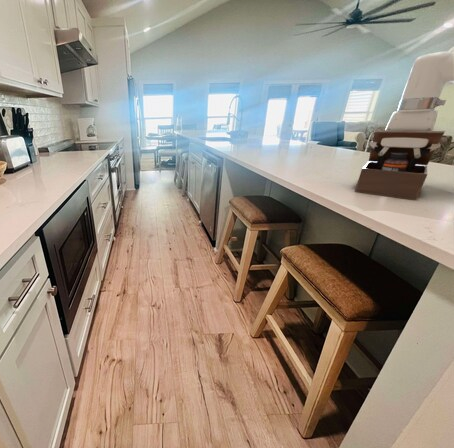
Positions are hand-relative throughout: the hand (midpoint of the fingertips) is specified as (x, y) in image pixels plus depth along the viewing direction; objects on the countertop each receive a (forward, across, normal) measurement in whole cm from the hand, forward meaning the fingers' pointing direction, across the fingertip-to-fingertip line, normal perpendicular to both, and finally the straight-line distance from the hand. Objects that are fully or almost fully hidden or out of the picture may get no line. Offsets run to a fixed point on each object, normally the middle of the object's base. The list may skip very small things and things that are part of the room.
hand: (393, 168), depth 75 cm
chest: (+7, 0, 0) cm, 7 cm away
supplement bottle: (+7, 0, 0) cm, 7 cm away
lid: (-6, 0, -1) cm, 6 cm away
